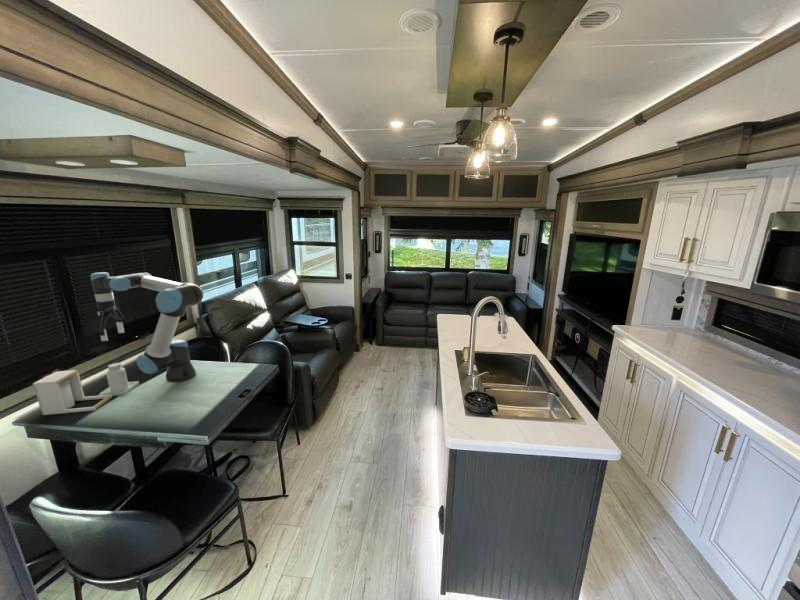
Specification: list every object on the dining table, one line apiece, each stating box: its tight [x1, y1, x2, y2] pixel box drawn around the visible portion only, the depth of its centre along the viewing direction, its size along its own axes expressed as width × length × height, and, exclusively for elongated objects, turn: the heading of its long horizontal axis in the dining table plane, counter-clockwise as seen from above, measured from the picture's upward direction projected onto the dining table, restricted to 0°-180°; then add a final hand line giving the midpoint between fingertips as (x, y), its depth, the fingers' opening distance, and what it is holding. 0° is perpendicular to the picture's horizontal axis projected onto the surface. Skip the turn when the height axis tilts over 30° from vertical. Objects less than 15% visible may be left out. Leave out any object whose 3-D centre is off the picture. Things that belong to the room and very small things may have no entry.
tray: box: [98, 380, 140, 397], centre depth 178 cm, size 12×12×2 cm
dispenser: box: [32, 369, 113, 416], centre depth 161 cm, size 22×13×17 cm, turn 100°
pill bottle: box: [106, 362, 129, 392], centre depth 176 cm, size 8×8×15 cm
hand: (113, 336), depth 180 cm, fingers open, 13 cm apart
